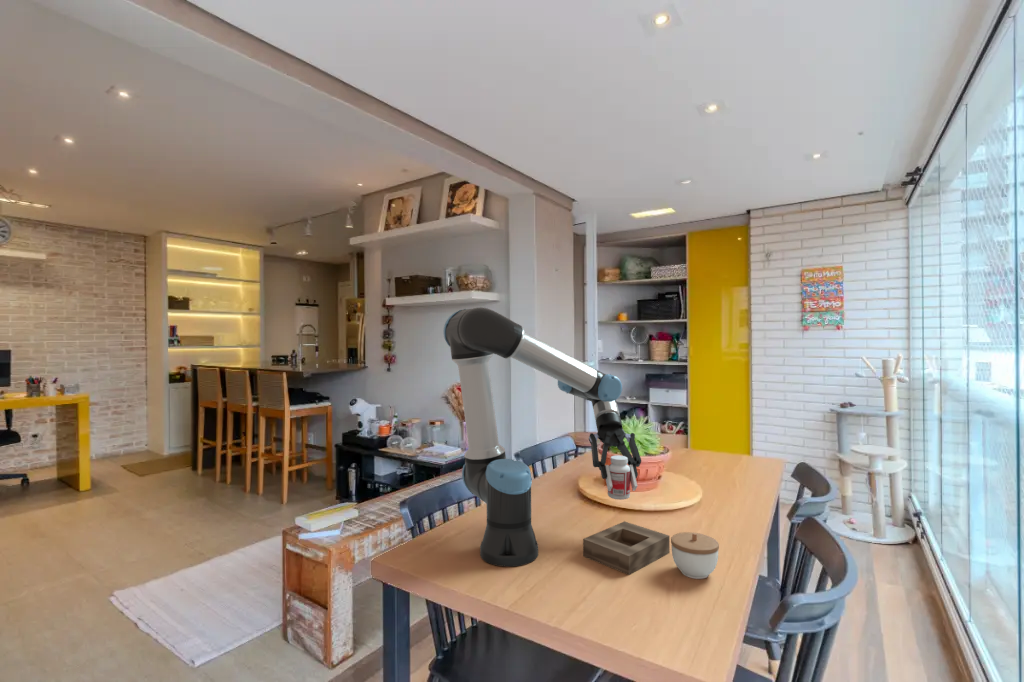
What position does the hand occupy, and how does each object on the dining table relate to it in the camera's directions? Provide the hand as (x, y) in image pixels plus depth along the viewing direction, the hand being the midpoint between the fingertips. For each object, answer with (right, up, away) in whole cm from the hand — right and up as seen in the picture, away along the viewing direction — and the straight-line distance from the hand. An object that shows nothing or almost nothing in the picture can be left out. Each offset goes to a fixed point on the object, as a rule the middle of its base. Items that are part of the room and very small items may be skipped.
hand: (622, 488), depth 138 cm
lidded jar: (+13, -15, -18) cm, 27 cm away
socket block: (-1, -15, -7) cm, 17 cm away
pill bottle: (0, -4, +4) cm, 5 cm away
